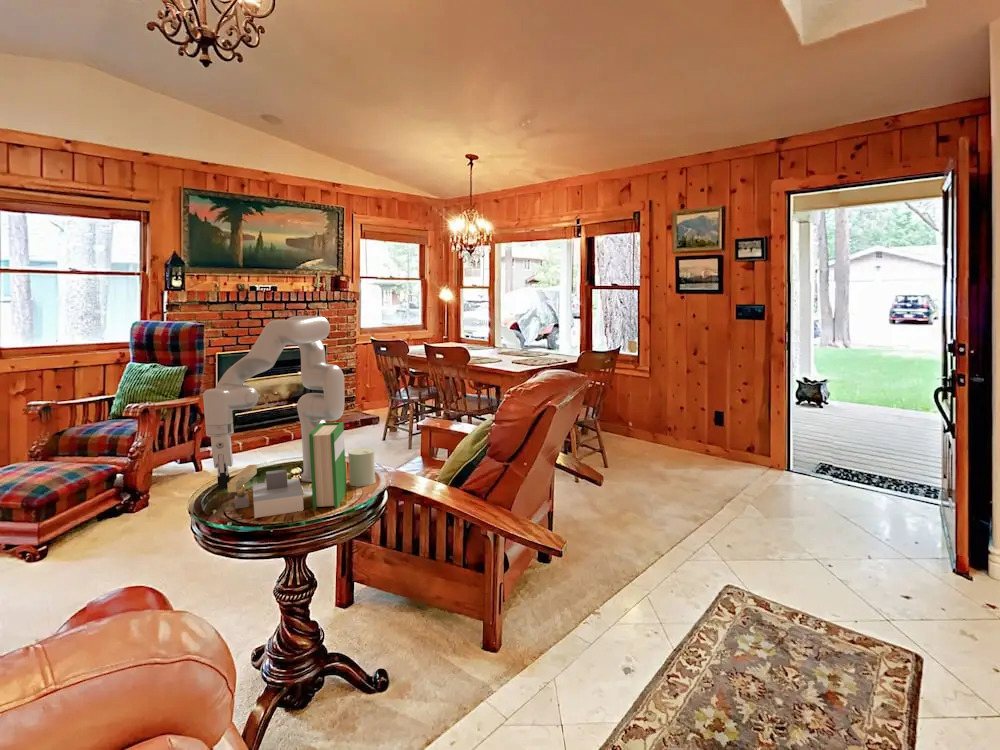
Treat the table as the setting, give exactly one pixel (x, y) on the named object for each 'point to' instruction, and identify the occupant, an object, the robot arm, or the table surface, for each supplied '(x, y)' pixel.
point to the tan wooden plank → (241, 480)
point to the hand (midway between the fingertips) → (224, 487)
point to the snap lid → (276, 487)
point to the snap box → (272, 505)
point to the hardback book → (327, 464)
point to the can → (361, 467)
